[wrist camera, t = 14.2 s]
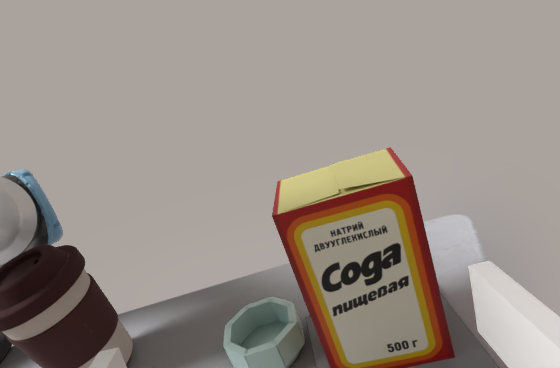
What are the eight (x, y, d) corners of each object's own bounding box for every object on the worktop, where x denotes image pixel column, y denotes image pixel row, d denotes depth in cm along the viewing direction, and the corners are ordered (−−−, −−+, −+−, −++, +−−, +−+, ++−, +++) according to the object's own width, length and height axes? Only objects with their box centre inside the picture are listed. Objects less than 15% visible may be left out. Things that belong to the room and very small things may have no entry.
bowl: (238, 337, 41) (226, 311, 40) (301, 316, 41) (291, 289, 40) (236, 393, 34) (221, 364, 33) (311, 368, 34) (299, 338, 33)
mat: (307, 321, 40) (305, 317, 40) (428, 280, 39) (427, 277, 39) (332, 441, 28) (330, 437, 27) (509, 385, 27) (509, 380, 27)
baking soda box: (335, 382, 31) (270, 211, 26) (330, 325, 37) (276, 177, 32) (455, 357, 30) (411, 170, 25) (429, 302, 36) (389, 143, 31)
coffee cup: (46, 419, 40) (-64, 324, 33) (83, 340, 49) (2, 251, 42) (132, 392, 39) (36, 288, 32) (154, 316, 48) (82, 221, 41)
